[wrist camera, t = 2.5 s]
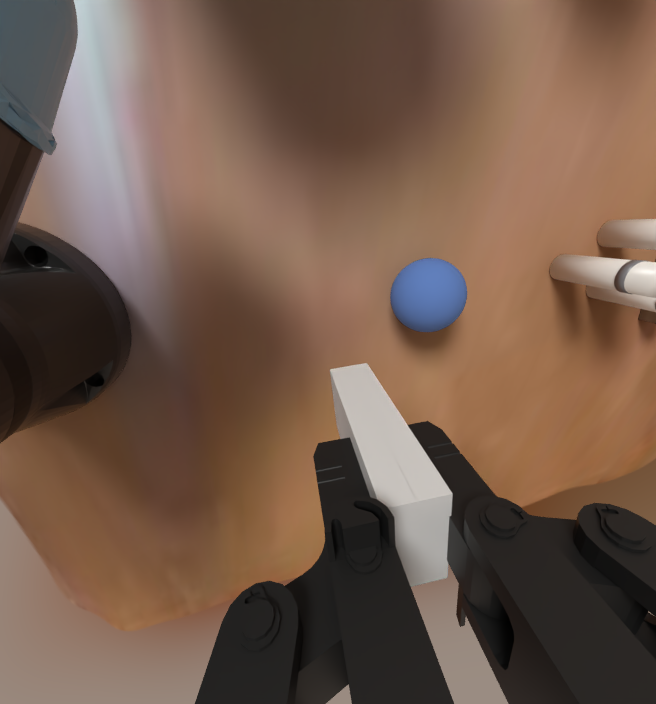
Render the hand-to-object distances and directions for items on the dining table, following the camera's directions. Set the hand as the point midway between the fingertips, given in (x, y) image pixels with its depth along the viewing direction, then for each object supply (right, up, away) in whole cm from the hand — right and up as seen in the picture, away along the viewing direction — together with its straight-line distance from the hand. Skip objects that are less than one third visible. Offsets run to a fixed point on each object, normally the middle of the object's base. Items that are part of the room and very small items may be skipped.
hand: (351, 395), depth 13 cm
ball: (+7, +6, +13) cm, 16 cm away
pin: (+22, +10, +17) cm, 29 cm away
